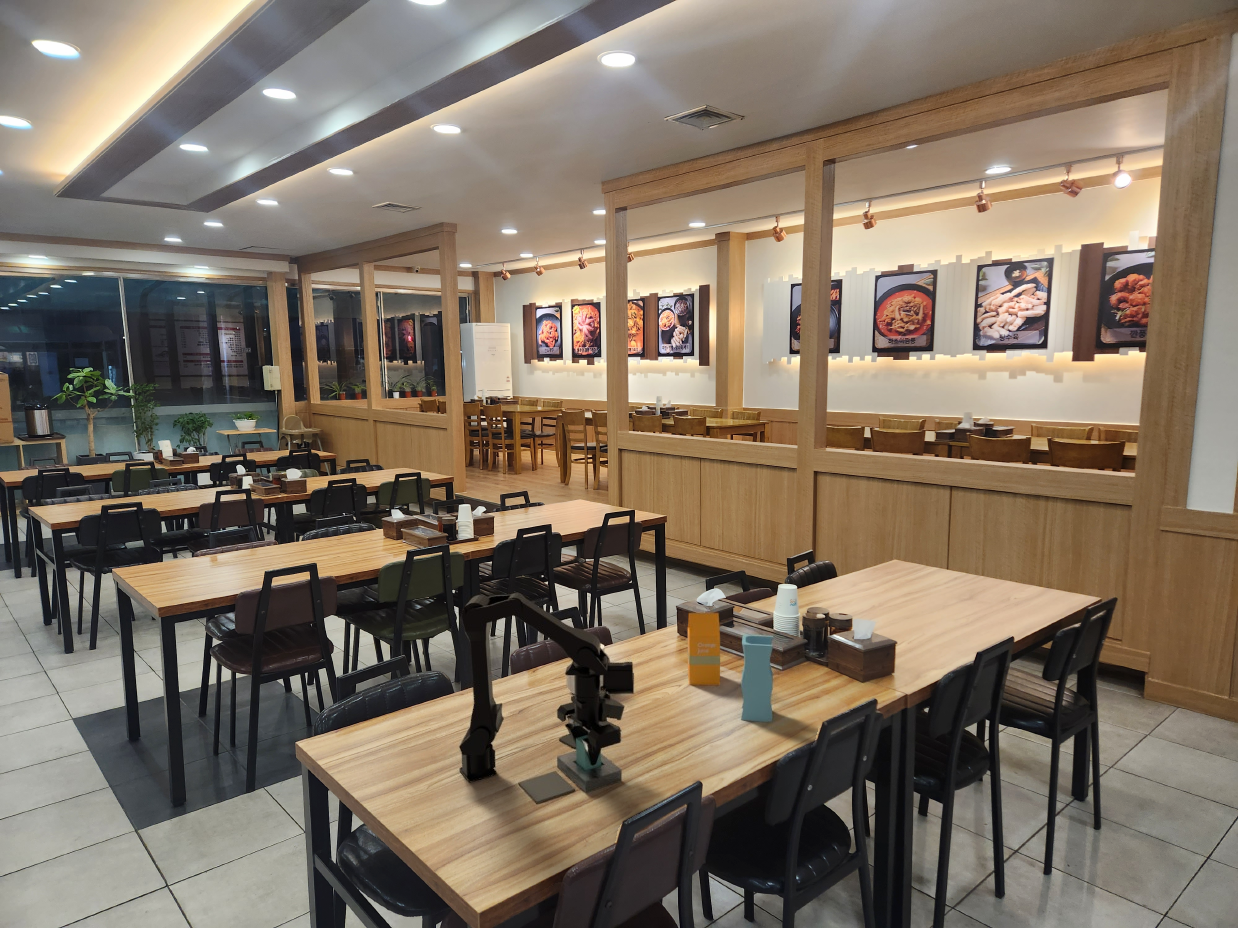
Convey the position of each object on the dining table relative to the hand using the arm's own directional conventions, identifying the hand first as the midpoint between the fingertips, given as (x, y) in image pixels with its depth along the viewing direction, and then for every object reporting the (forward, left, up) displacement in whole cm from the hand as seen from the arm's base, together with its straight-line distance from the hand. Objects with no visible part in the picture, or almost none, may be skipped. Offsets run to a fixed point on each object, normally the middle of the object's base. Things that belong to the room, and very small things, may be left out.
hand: (588, 760), depth 167 cm
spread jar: (+24, +41, -3) cm, 47 cm away
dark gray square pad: (-10, 0, -3) cm, 11 cm away
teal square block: (0, 0, -3) cm, 3 cm away
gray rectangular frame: (0, 0, -3) cm, 3 cm away
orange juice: (+55, +28, -3) cm, 61 cm away
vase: (+52, +2, -3) cm, 52 cm away
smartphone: (+10, +16, -4) cm, 19 cm away
